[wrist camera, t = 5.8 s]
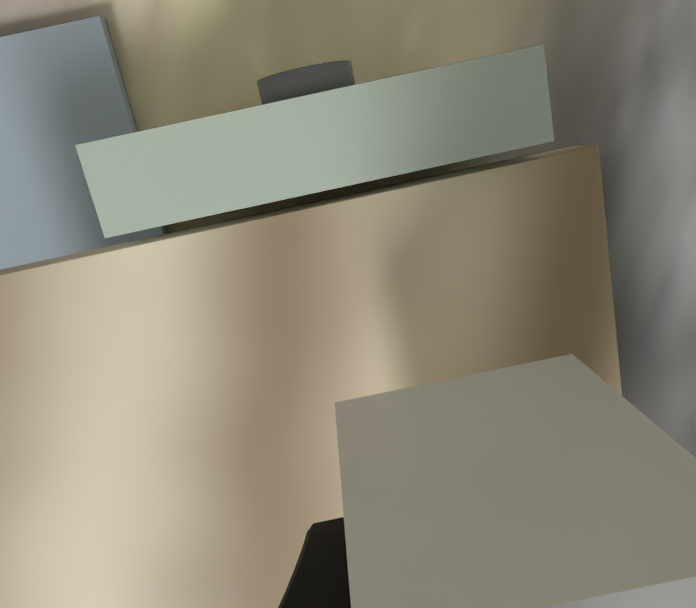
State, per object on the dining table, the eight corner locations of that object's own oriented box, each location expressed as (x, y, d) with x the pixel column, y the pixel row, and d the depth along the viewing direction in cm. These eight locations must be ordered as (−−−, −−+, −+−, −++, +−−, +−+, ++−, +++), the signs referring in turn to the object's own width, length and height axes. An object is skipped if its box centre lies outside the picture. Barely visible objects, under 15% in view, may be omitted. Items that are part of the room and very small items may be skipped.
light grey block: (593, 555, 11) (803, 874, 6) (378, 599, 11) (426, 950, 6) (572, 353, 10) (808, 554, 5) (334, 402, 10) (353, 646, 5)
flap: (522, 142, 15) (599, 146, 11) (571, 543, 19) (646, 659, 14) (-25, 261, 15) (-149, 307, 11) (120, 640, 19) (66, 784, 14)
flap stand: (456, 57, 16) (539, 11, 10) (535, 586, 20) (623, 764, 15) (154, 121, 16) (65, 114, 10) (300, 637, 20) (296, 835, 15)
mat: (302, 700, 21) (302, 710, 21) (4, 764, 21) (-1, 776, 21) (104, 18, 15) (98, 15, 15) (-311, 108, 15) (-327, 107, 15)
